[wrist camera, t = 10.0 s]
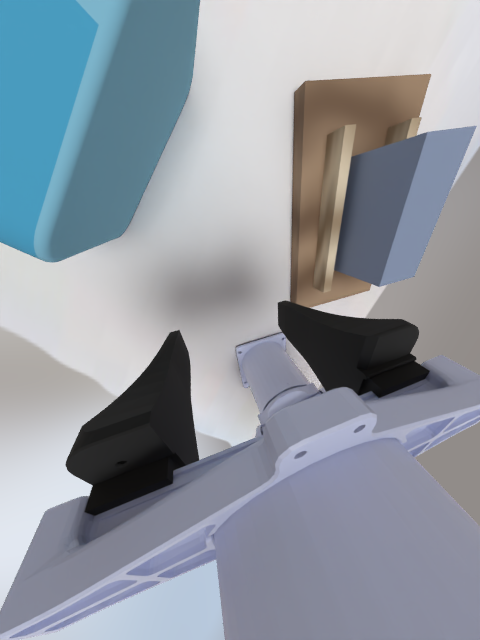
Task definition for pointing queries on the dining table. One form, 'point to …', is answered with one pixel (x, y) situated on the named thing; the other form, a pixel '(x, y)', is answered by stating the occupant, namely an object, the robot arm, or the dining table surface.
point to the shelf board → (339, 168)
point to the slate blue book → (397, 204)
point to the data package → (86, 114)
